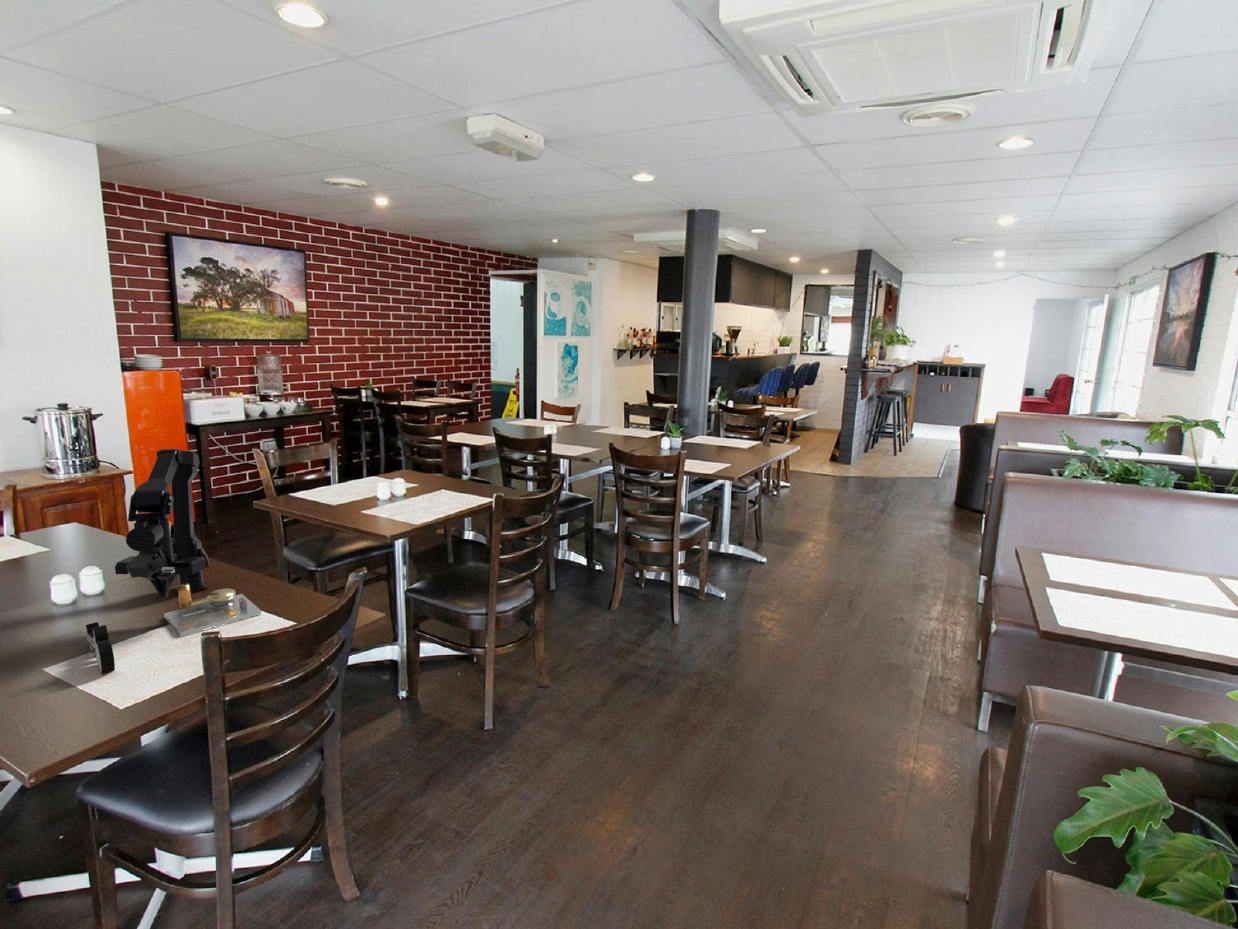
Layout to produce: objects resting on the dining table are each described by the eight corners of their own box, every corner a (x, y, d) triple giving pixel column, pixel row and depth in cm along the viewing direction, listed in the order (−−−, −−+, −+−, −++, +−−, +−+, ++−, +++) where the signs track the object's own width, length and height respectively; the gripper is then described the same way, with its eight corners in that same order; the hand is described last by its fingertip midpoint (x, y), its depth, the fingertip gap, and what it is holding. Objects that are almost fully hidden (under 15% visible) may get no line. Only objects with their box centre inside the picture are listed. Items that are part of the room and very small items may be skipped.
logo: (116, 672, 137) (108, 627, 136) (103, 676, 135) (95, 630, 135) (103, 657, 152) (95, 616, 151) (91, 660, 150) (83, 619, 150)
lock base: (164, 617, 164) (162, 604, 163) (242, 597, 177) (241, 585, 176) (180, 637, 154) (178, 623, 153) (261, 614, 167) (260, 601, 166)
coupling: (231, 590, 173) (229, 570, 172) (239, 597, 169) (236, 577, 168) (176, 604, 164) (174, 583, 163) (183, 611, 160) (180, 590, 159)
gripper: (92, 548, 150) (102, 611, 153) (173, 549, 150) (181, 611, 154) (127, 534, 161) (135, 592, 164) (203, 534, 161) (209, 593, 165)
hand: (164, 597), depth 161 cm, fingers closed
